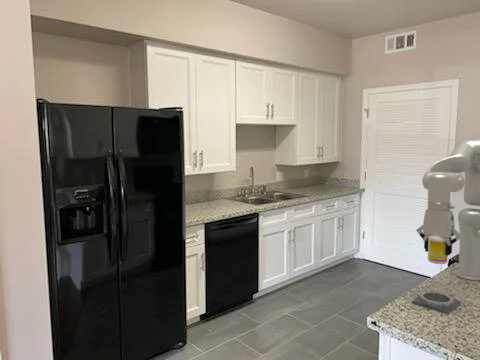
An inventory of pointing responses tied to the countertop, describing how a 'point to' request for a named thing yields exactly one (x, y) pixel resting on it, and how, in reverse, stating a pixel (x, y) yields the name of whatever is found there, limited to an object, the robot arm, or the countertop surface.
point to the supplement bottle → (437, 249)
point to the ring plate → (444, 310)
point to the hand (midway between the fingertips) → (437, 252)
